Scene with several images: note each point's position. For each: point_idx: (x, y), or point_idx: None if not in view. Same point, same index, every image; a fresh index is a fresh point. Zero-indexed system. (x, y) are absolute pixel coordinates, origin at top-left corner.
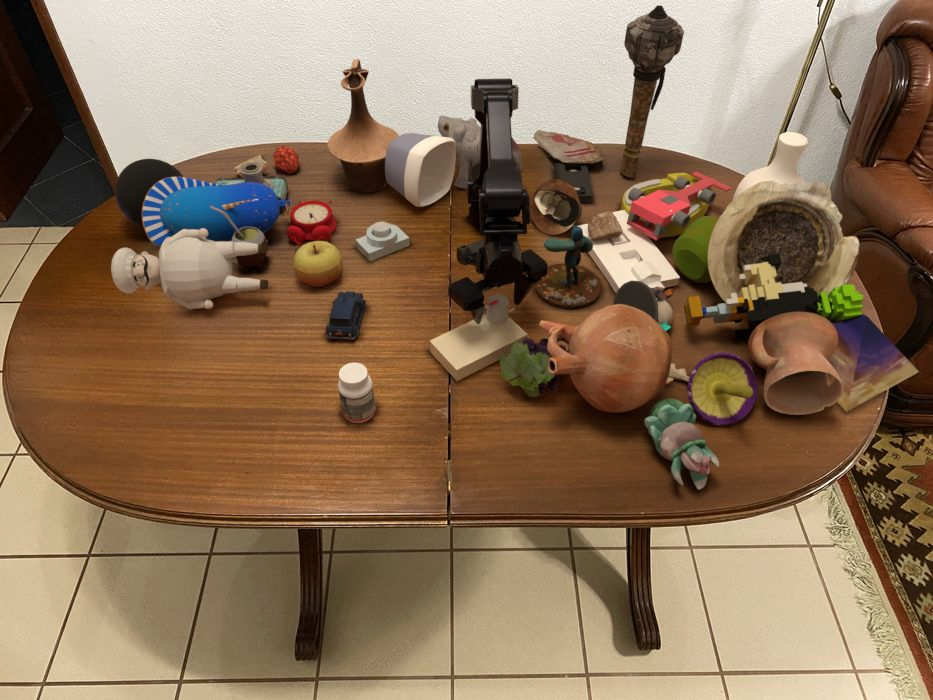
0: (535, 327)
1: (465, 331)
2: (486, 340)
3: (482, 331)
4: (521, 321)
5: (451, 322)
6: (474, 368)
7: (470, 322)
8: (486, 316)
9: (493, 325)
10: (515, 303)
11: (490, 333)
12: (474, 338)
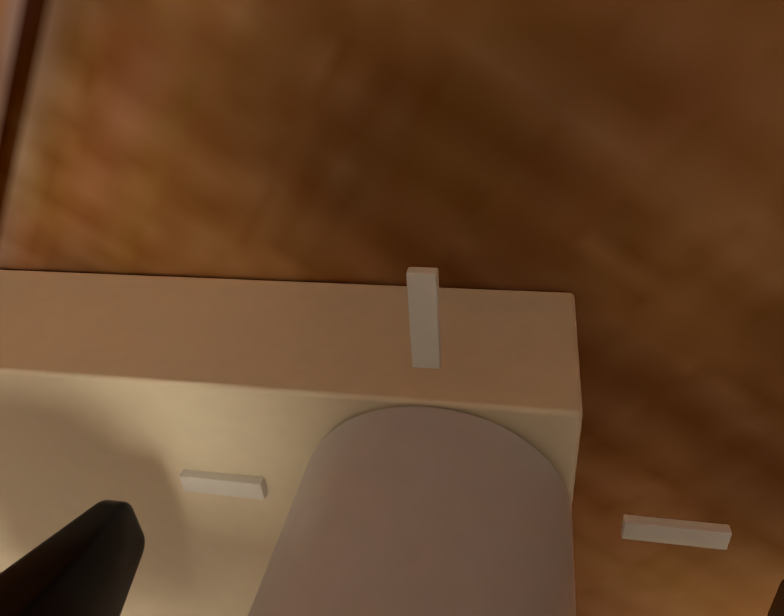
0: (780, 547)
1: (18, 450)
2: (175, 609)
3: (184, 536)
4: (748, 439)
5: (51, 21)
6: None
7: (105, 394)
8: (328, 429)
9: None
10: (779, 614)
11: (244, 588)
12: None
